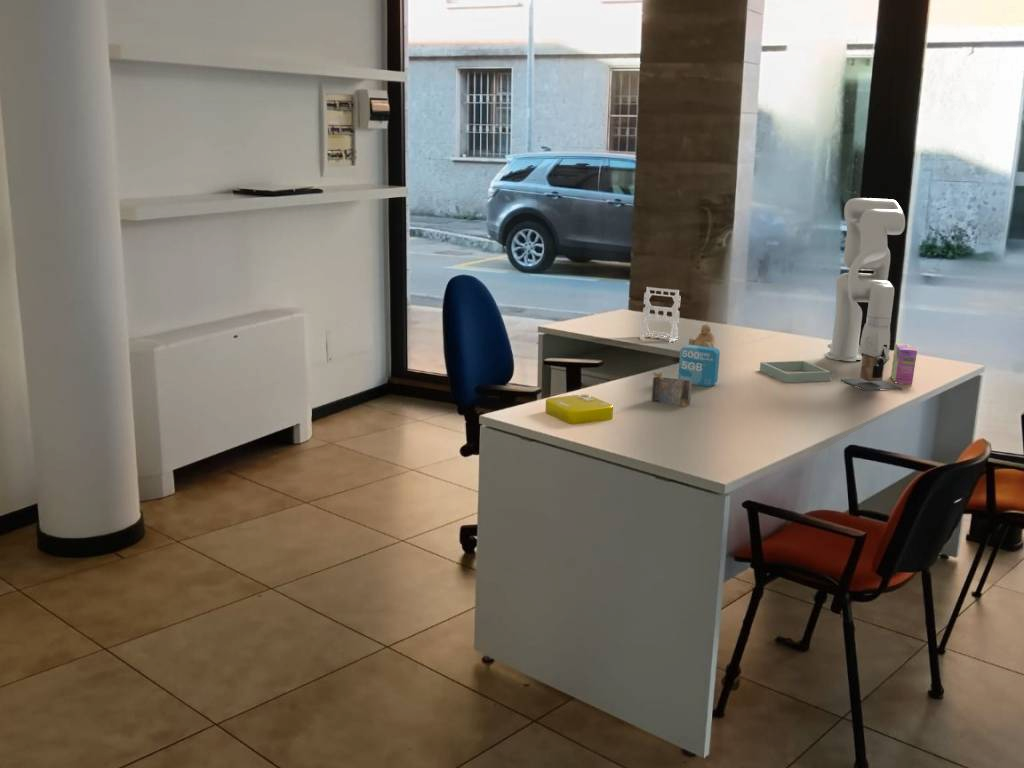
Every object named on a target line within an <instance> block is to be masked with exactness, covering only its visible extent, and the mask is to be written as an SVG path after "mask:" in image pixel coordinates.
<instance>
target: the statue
mask: <svg viewBox="0 0 1024 768" xmlns="http://www.w3.org/2000/svg"><path fill="white" fill-rule="evenodd" d="M711 329H712V328H711V326H710V325H709V324H707V323H706V324H703V325H701V329H700V332H699V334H698V335H697V337H696V338H695V339H694V338H689V339H688V344H687V345H695V346H703V347H711V348H715V336H714V334H713V333H712V332H711V331H712V330H711Z"/></svg>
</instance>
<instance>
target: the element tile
mask: <svg viewBox="0 0 1024 768" xmlns="http://www.w3.org/2000/svg"><path fill="white" fill-rule="evenodd" d="M544 412H545V414H547V415H548V416H551V417H554V418H555V419H557V420H559V421H562V422H563V423H566V424H567V425H582V424H590V423H596V422H597V423H598V422H604V421H605V422H606V421H611V420H613V419H614V418H613V417H614V416H613V414H614V405H613V404H611V403H609V402H606V401H604V400H601V399H599V398H597V397H594V396H592V395H590V394H587V393H584V394H583V393H582V394H573V395H565V396H564V395H563V396H557V397H548V398H546V400H545V411H544Z"/></svg>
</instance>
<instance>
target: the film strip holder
mask: <svg viewBox="0 0 1024 768" xmlns="http://www.w3.org/2000/svg"><path fill="white" fill-rule="evenodd" d="M651 291H654V293H651ZM657 292H660V294H659V293H657ZM664 292H666V293H668V294H664ZM671 293H674V295H671ZM643 294H644V295H643V305H644V306H645V307H643V309H642V320H643V322H642V323H641V324H642V326H641V333H640V336H641V337H643V336H644V335H647V334H648V333H650V334H652V336H653V334H658V336H655V337H660V334H661V335H663V336H664V337H662V338H666V337H667V335H668V336H670V338H668V339H669V340H668V341H669V342H671V341H675V340H677V341H678V339H676V338H678V337H679V336H678V335H679V326H677V324H679V321H680V311H679V310H678V309H679V308H680V307H681V299H682V298H681V296H682V295H680V290H679V289H671V288H659V287H652V286H651V287H650V286H646V291H645V292H644V293H643ZM652 296H659V297H660V296H661V297H669V298H672V300H673V304H672V306H671V307H667V306H659V305H657V306H656V305H652V304H651V302H650V299H651V297H652ZM650 311H654V316H652V315H651V314H650ZM659 312H663V316H662V317H661V316H659ZM668 312H670V313H671V317H668V316H667V314H668ZM650 321H654V322H664V323H670V325H671V328H670V332H662V331H655V330H653V331H652V330H650V329H649V326H648V325H649V323H650ZM649 336H650V335H649ZM671 337H672V338H671Z"/></svg>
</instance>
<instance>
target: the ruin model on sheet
mask: <svg viewBox="0 0 1024 768" xmlns="http://www.w3.org/2000/svg"><path fill="white" fill-rule="evenodd" d="M653 375H654V377H652V387H651V388H652V389H651V401H650V402H654V401H658V403H662V404H669V405H676V406H677V405H678V406H686V407H689V406H690V405H691V397H692V389H693V388H692V386H693V384H692V381H689V380H681V379H678V378H671V377H663V373H662V372H653Z"/></svg>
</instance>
